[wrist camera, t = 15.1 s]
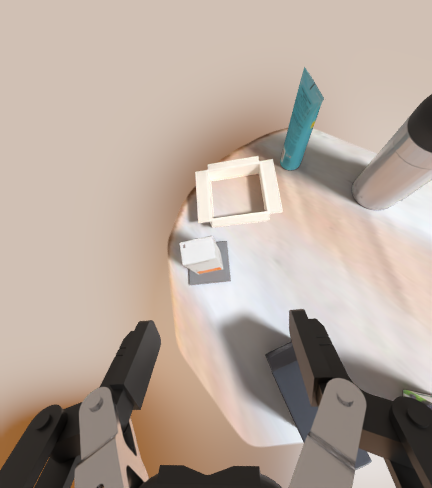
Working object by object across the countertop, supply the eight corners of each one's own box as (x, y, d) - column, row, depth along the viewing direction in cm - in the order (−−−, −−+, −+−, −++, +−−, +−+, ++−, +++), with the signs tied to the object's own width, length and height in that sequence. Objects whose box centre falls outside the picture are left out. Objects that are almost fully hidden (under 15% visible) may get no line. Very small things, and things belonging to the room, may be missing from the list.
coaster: (226, 241, 48) (226, 241, 47) (230, 281, 45) (230, 281, 45) (188, 246, 49) (188, 245, 48) (190, 285, 46) (189, 284, 46)
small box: (335, 414, 36) (375, 465, 25) (299, 430, 36) (322, 488, 25) (296, 338, 40) (314, 352, 29) (264, 353, 40) (270, 372, 29)
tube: (306, 169, 50) (339, 92, 32) (287, 177, 50) (309, 104, 32) (292, 146, 52) (315, 62, 34) (274, 154, 52) (287, 74, 34)
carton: (270, 164, 52) (271, 153, 48) (281, 225, 47) (284, 218, 43) (198, 176, 54) (194, 166, 50) (202, 235, 49) (198, 229, 45)
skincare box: (197, 275, 46) (181, 265, 35) (195, 256, 47) (178, 241, 36) (224, 269, 45) (216, 258, 34) (221, 251, 47) (212, 234, 35)
